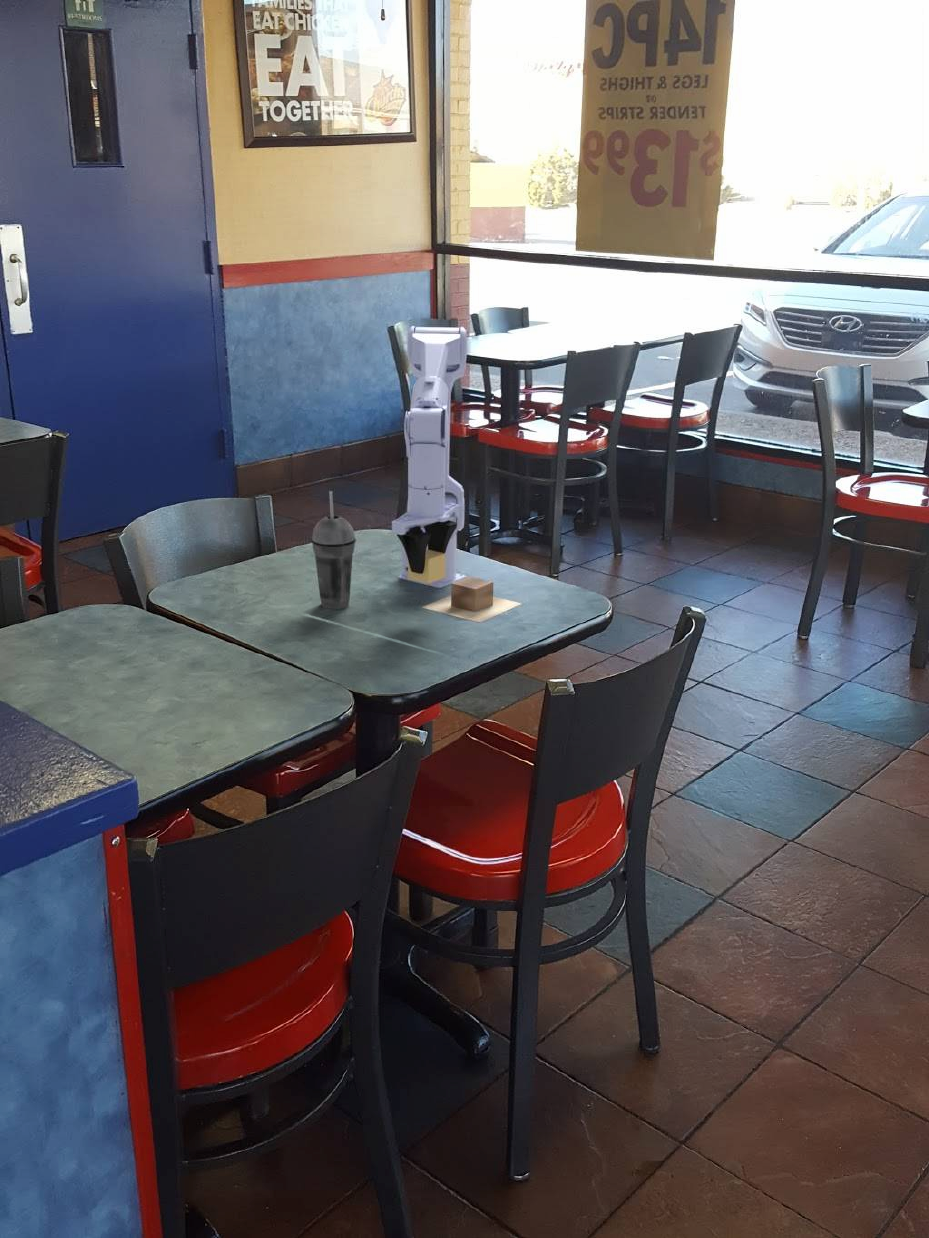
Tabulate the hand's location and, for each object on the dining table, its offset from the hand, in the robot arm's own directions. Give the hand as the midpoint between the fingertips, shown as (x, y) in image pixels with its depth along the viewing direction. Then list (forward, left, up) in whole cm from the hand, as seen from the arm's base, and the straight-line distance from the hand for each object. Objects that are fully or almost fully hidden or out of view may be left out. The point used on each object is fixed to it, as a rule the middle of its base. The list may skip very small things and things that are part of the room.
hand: (426, 568), depth 191 cm
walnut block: (+2, +10, -8) cm, 13 cm away
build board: (+2, +10, -9) cm, 13 cm away
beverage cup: (-16, -4, -9) cm, 19 cm away
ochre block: (0, 0, -2) cm, 2 cm away
